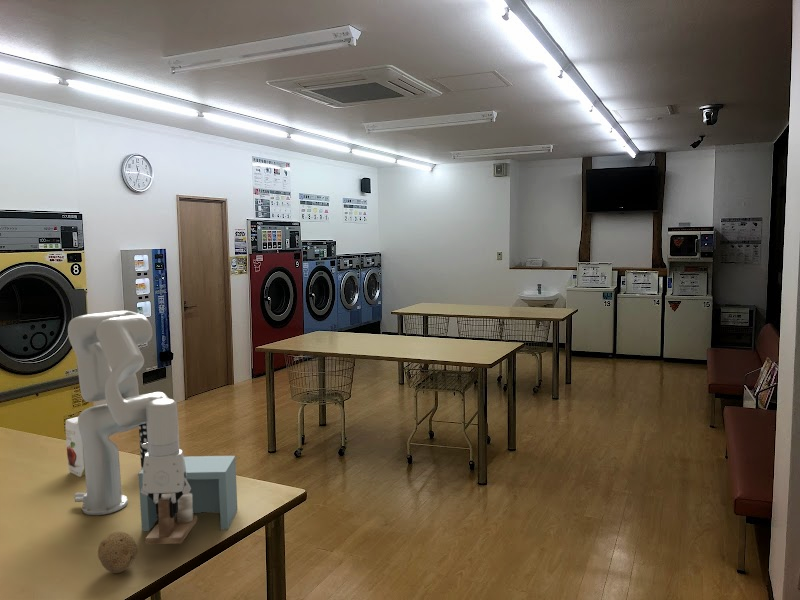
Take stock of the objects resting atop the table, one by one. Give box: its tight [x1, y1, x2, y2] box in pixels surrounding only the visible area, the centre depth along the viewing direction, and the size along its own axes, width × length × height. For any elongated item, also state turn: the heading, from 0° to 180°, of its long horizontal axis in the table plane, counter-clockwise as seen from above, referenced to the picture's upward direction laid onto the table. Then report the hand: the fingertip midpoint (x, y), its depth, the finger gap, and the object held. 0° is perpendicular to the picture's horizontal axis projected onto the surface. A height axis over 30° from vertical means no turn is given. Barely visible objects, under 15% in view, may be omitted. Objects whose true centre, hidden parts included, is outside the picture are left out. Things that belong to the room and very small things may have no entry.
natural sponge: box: [97, 531, 139, 574], centre depth 156 cm, size 9×9×10 cm
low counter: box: [138, 455, 238, 532], centre depth 181 cm, size 24×12×17 cm, turn 92°
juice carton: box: [64, 416, 85, 478], centre depth 216 cm, size 8×9×19 cm
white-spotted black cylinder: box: [138, 423, 148, 471], centre depth 218 cm, size 8×8×20 cm
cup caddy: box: [144, 493, 198, 545], centre depth 166 cm, size 9×14×11 cm, turn 2°
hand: (167, 515), depth 162 cm, fingers closed on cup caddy, 2 cm apart
